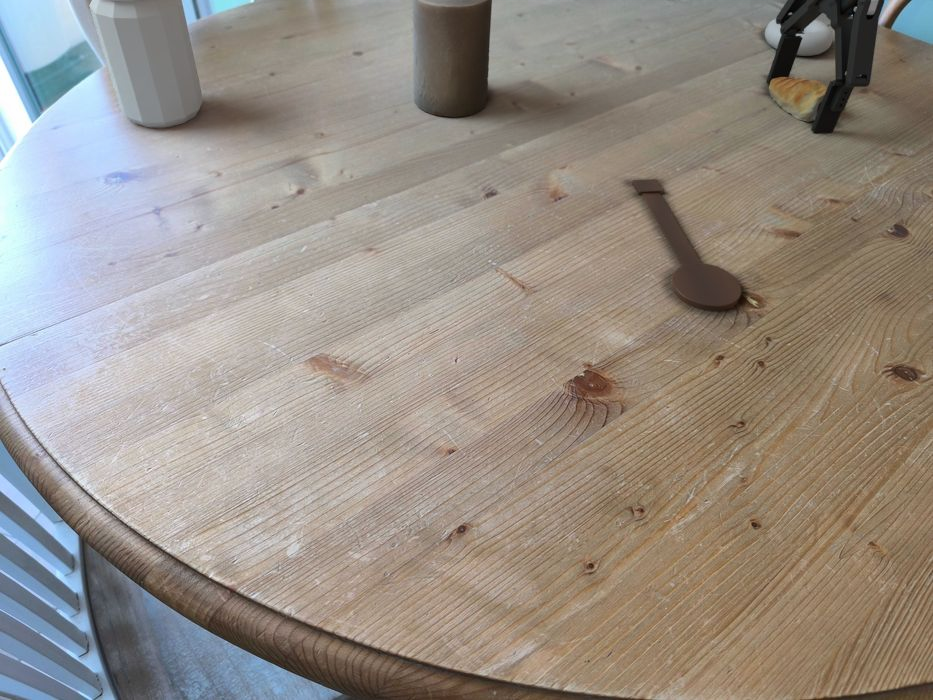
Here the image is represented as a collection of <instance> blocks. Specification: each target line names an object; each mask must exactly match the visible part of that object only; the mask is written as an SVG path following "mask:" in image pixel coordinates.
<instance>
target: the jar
mask: <svg viewBox="0 0 933 700" xmlns="http://www.w3.org/2000/svg"><path fill="white" fill-rule="evenodd" d="M88 7H89V10H90V12H91V16H92V19H93V23H94V26H95V29H96V33H97V37H98V40H99V43H100V46H101V49H102V53H103V56H104V60H105V63H106V65H107V69H108V73H109V76H110V79H111V83H112V86H113V90H114V93H115V96H116V100H117V102H118V106H119V109H120V110H121V112H122V113H123V114H124V116H125V117H126V118H127V119H128V120H130V121H131V122H133V123H134V124H136V125H139V126H142V127H145V128H161V129H162V128H163V129H164V128H165V129H166V128H171V127H175V126H178V125H182V124H185V123H187V122H188V121H190V120H192V119H193V118H195V117H196V116H197V114H198V112H199V110H200V109H201V106H202V105H203V101H204V96H203V93H202V87H201V82H200V78H199V74H198V68H197V64H196V59H195V55H194V50H193V46H192V40H191V37H190V32H189V27H188V22H187V18H186V13H185V8H184V4H183V0H91V1H90V3H89V5H88Z"/></svg>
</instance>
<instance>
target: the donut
mask: <svg viewBox="0 0 933 700" xmlns="http://www.w3.org/2000/svg"><path fill="white" fill-rule="evenodd" d="M780 28H781V25H780V24H777V23H776V18H774V19H772V20H771V21H769V22H768V24H767V26H766V28H765V30H764V37H765V40H766V42H767V44H768V45H769V46H770V47H772V48H773V49H775V50H776V49H777V46H778V43H779V40H780V38H781V33H780ZM803 33H804V34H796V36H801V37H802V41H801V44H800V47H799V49H798V52H797V55H796V56H798V57H799V56H801V57H812V56H816V55H821V54H822V53H824V52H827V50H828V49H830V47H831V45H832V44H833V40H834V33H833V31H832V30H831V27H829V26H828V25H826V24H825V23H824V22H822V21H820V20H818V19H815V20H814V21H813V22H812V23H810V24H809V25H808V26H807V27H806V28H805V29H804V32H803Z"/></svg>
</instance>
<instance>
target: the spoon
mask: <svg viewBox="0 0 933 700" xmlns="http://www.w3.org/2000/svg"><path fill="white" fill-rule="evenodd" d="M631 186H633V188H634V190H635V192H636V193H637V196H642V198H643V199H644V201H645V203H646V205H647V207H648V208H649V211H650V212H651V214H652V216H653V217H654V219H655V221H656V223H657V224H658V226H659V228H660V230H661V232H662V234H663V235H664V237H665V239H666V240H667V243H668V244H669V246H670V248H671V250H672V251H673V253H674V255H675V257H676V258H677V260H678V262H679V263H680V266H679V267H678V268H677V269H676V270H674V272H673V273H672V277H671V280H670V288H671V290H672V292H673V294H674V295H675V296H676V297H677V298H678V299H679V301H681V302H682V303H684V304H685V305H687V306H690V307H691V308H695V309H697V310H702V311H705V312H722V311H727V310H729V309H732V308H733V307H735V306H736V305H737V304H738V302H739V301H740V298H741V295H742V286H741V283H740V282H739V280H738V279H737V278H736V277H735V276H734V275H733V274H732V273H731V272H729V271H728V270H726V269H724V268H722V267H719V266H717V265H713V264H709V263H704V262H701V260H700V258H699V256H698V255H697V252H696V251H695V250H694V247H692V244H691V242H690V241H689V239H688V238H687V236H686V233H684V231H683V229H682V228H681V226H680V224H679V222H678V221H677V219H676V217H675V216H674V214H673V212H672V210H671V209H670V207H669V206H668V204H667V203H666V201H665V199H664V197H663V196H662V195H663V194H664V188H663V187H662V186H661V184H660V183H659V180H658V179H657V178H655V179H654V178H653V179H652V178H651V179H633V180H632V183H631Z"/></svg>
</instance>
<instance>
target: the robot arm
mask: <svg viewBox="0 0 933 700" xmlns="http://www.w3.org/2000/svg"><path fill="white" fill-rule="evenodd" d="M885 1H886V0H786V2H785V3H784V5H783V6H782V7H781V10H779V12H778V13H777V15H776V17H775V19H776V23H777V24H780V25H781V28H780V33H781V38H780V40H779V43H778V46H777V49H775V54H774V57H773V60H772V63H771V66H770V69H769V72H768V75H767V78H766V80H765V81H766V82H765V83H766V84H767V85H768V86H769V85H770V82H771V80H772V79H774V78H779V77H790V74H791V72H792V69H793V67H794V63H795V60H796V58H797V56H798V55H797V52H798V49H799V47H800V44H801V41H802V37H801V36H796V34H804V33H803V32H804V29H805V28H806V27H807V26H808V25H809V24H810V23H812V22H813V21H814V20H817V19H818V18H819V17H820V16H821V15H822V14H824V15H825V17H826V18H827V19H828V20H829V21H830V28H831V29H832V30H834V61H835V62H834V69H835V73H834V74H835V75H834V76H835V79H833V80H829V83H828V85H827V87H828V88H827V90H826V93H825V95H824V98H823V100H822V103H821V105H820V108H819V110H818V113H817V115H816V118H815V120H814V121H813V123H812V126H811V128H810V130H811V132H812V133H833V132H834V131H835V128H836V125H837V124H838V121H839V119H840V117H841V115H842V112H843V111H844V110H845V109H846V107H847V104H848V102H849V101H850V97H851V95H852V93H853V90H854V88H867V87H868V86H869V85H870V84H871V80H872V79H871V78H872V71H873V65H874V57H875V48H876V42H877V34H878V28H879V27H878V26H879V19H880V17H881V13H882V10H883V7H884V4H885ZM851 17H852V18H851Z"/></svg>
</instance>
